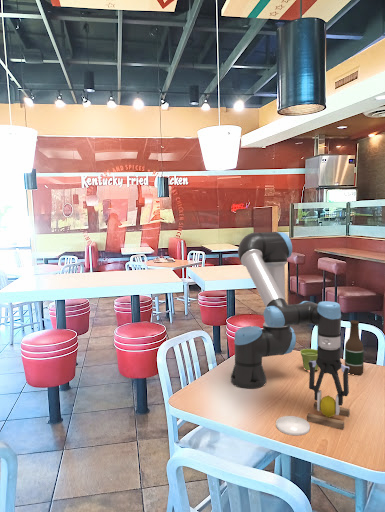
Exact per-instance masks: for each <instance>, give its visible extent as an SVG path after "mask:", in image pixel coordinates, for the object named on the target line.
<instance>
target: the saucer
mask: <svg viewBox="0 0 385 512" xmlns="http://www.w3.org/2000/svg"><path fill="white" fill-rule="evenodd" d="M275 427H276V429H277V430H278V431H279V432H281V433H283V434H285V435H288V436H304V435H306V434H308V433H309V432H310V429H311V425H310V422H308V421H307V419H305V418H303V417H300V416H294V415H284V416H281V417H279V418H277V420H276V421H275Z"/></svg>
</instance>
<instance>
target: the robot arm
mask: <svg viewBox="0 0 385 512" xmlns="http://www.w3.org/2000/svg"><path fill="white" fill-rule="evenodd" d="M237 253H238V258H239V262H240V263H241V265H242V266H243V267H246V270H247V272H248V274H249V276H250V278H251V281H252V282H253V284H254V286H255V288H256V290H257V292H258V294H259V297H260V299H261V300H262V303H263V305H264V306H265V308H264V310H263V318H264V322H263V324H262V328H261V327H260V326H258V325H256V326H255V325H253V326H252V325H250V326H244V327H240V328H239V329H237V330H236V331H235V333H234V340H233V342H234V343H233V344H234V365H233V369H232V372H231V374H230V382H231V384H232V383H233V384H232V385H233V386H235V385H236V387H238V388H242V389H258V388H261V387H263V385H264V384H265V383H266V384H267V376H266V373H265V370H264V367H263V358H265V357H273V356H284V355H288V354H290V353H292V352H293V351H294V349H295V347H296V342H297V336H296V333H295V330H294V329H293V326H300V325H301V326H302V325H313V326H316V327H317V348H316V350H317V360H316V361H313V360H311V361H310V362H309V363H308V364H309V367H310V372H309V379H308V388H309V390H312V391H313V392H314V396H313V397H314V401H315V402H317V410H316V411H317V412H321V411H320V403H321V400H322V390H321V389H320V387H321V385H322V382H323V378H324V375H325V374H329V375H331V376H332V379H333V381H334V385H335V389H336V392H337V394H336V396H335V401H336V414H335V415H336V416H340V415H339V412H340V407H342V405H343V403H344V397H348V395H349V392H350V390H349V388H350V387H349V385H350V384H349V374H348V372H349V369H350V367H349V366H345V364H342V361H341V341H342V340H341V331H342V330H341V328H342V325H341V324H342V323H341V322H342V313H341V311H342V310H341V305H340V303H338V302H336V301H325V300H324V301H323V300H322V301H319V302H318V303H315V302H313V301H308V300H304V301H301V302H300V303H297V304H296V303H294V304H288V303H287V302H286V289H285V287H286V286H285V285H286V284H285V265H287V263H288V258H289V259H290V257H291V256H292V253H293V243H292V241H291V238H290V237H289V236H288V234H287V233H285V232H281V231H267V232H263V231H262V232H251V233H249V234H246V235H245V236H244V237H243V238H242V239H241V240H240V242H239V244H238V248H237ZM291 326H292V327H291ZM316 364H317V365H318V369H320V371H319V373H318V377H317V381H316V383H315V373H316V371H315V366H316ZM340 369H341V371H342V373H343V375H342V381H343V384H341V380H340V377H339V372H338V371H339V370H340ZM266 384H265V385H266ZM265 385H264V386H265ZM342 385H343V386H342ZM342 387H343V388H342Z"/></svg>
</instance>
